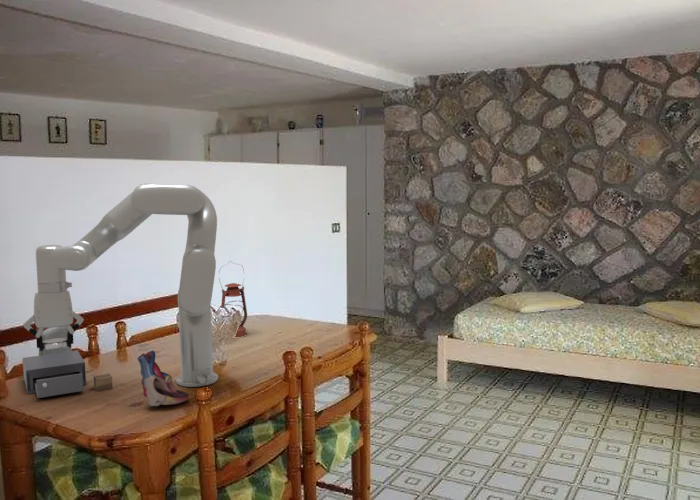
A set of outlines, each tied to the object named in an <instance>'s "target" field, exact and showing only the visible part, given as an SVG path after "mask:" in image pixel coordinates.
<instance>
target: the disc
mask: <svg viewBox="0 0 700 500" xmlns="http://www.w3.org/2000/svg"><path fill="white" fill-rule="evenodd" d="M66 347H68V339H64V338H56V339H49V340H45V341H43V349H44V350H57V349H63V348H66Z"/></svg>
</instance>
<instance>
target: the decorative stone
mask: <svg viewBox="0 0 700 500" xmlns="http://www.w3.org/2000/svg"><path fill="white" fill-rule="evenodd" d="M67 333H68V329H67V328H66V326H61V327H52V328H45V329H43V332H42V334H41V336H42V340H43V341H45V340H49V339H56V338H64V339H67ZM71 351H73V349H72V347H71V348H69V347H66V348H63V349H57V350H44V349H43V351H40V349H39V348H38V356H41V355H48V354H56V353H63V352H71Z"/></svg>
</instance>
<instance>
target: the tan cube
mask: <svg viewBox="0 0 700 500" xmlns="http://www.w3.org/2000/svg"><path fill="white" fill-rule="evenodd" d="M93 386H94V387H93V388H94V389H95V391H96V392H99V391H104V390H111V389H113V388H114V387H113V376H112V375H111V374H110V373H103V374H102V373H101V374H95V375H93Z"/></svg>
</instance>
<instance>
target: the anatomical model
mask: <svg viewBox="0 0 700 500" xmlns="http://www.w3.org/2000/svg"><path fill="white" fill-rule="evenodd" d="M137 362H138V363H139V366H140V375H141V376H142V379H141V382H140V383H141V385H142V390H143V394H142V395H143V397H144V398H145V400H147V403H148V406H149V407H159V406H161V405H162V406H171V405H172V406H173V405H178V404H182V403H184V402H186V401H187V400H188V399H189V398H190V394H189V393H188V392H186V391H183V390H179V389H176V388H175V386H174V383H173V380H172V379H173V378H172V375H170V374H169V373H167V372H164V371H161V369H160V366H159V365H158V363H157V362H156V352H155V350H150V351H148V352H146V353H141V354H140V355H139V356H138V357H137Z"/></svg>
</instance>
